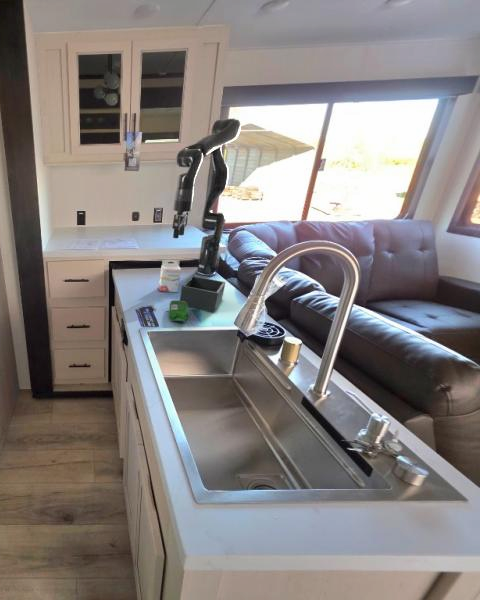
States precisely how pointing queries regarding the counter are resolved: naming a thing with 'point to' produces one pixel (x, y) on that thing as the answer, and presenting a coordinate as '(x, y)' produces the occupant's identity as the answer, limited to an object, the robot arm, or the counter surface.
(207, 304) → the waste bin
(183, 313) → the snack package
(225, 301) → the counter surface
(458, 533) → the counter surface
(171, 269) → the ink cartridge box
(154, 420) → the counter surface
